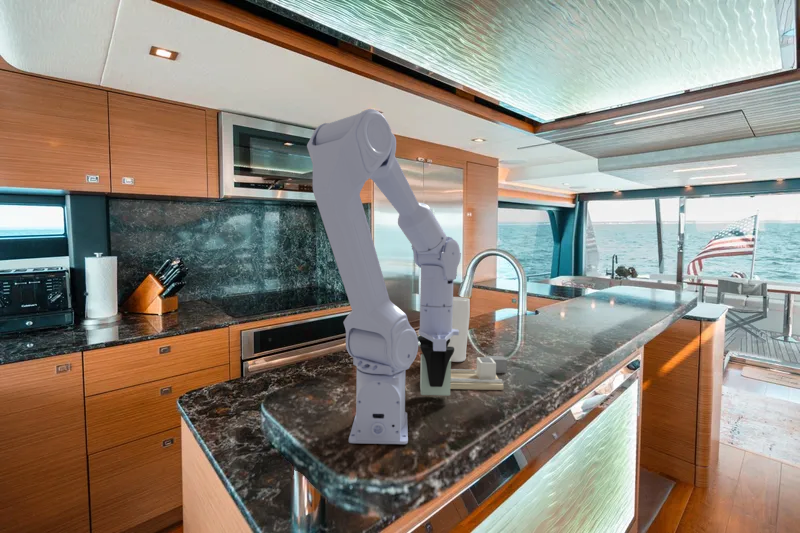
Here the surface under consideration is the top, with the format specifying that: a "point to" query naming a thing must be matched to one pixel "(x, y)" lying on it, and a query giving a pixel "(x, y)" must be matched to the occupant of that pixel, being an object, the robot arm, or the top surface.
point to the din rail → (463, 380)
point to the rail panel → (474, 385)
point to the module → (424, 380)
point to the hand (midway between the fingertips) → (434, 381)
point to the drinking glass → (460, 328)
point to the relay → (500, 363)
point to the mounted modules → (486, 368)
